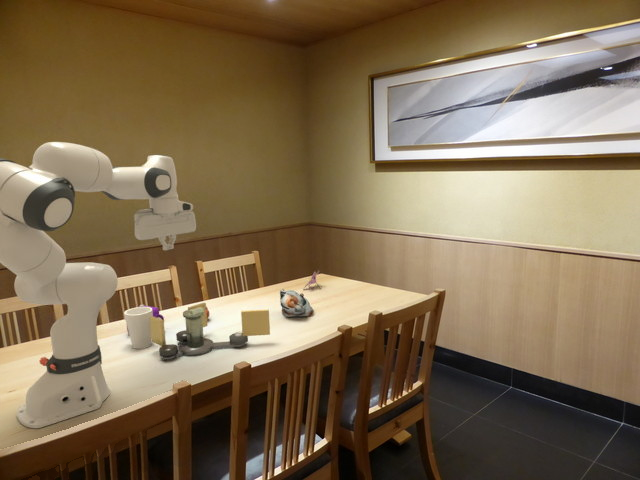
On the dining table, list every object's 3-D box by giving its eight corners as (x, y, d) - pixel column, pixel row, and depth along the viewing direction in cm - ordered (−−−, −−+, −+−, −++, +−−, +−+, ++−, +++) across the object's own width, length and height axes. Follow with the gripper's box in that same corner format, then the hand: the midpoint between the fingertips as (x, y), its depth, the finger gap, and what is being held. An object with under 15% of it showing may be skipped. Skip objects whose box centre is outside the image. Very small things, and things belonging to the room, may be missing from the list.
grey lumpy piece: (319, 314, 192) (313, 291, 184) (296, 330, 188) (289, 307, 179) (299, 297, 203) (292, 274, 194) (277, 312, 198) (269, 289, 189)
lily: (319, 286, 239) (310, 270, 238) (332, 281, 230) (323, 265, 229) (304, 298, 232) (294, 282, 231) (317, 294, 223) (307, 277, 222)
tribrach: (184, 372, 143) (180, 326, 141) (145, 353, 158) (141, 312, 156) (247, 345, 163) (245, 304, 160) (208, 330, 178) (205, 293, 175)
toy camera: (156, 338, 171) (153, 313, 170) (123, 337, 174) (120, 311, 172) (171, 328, 182) (168, 304, 180) (140, 326, 184) (137, 302, 183)
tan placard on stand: (270, 342, 160) (268, 312, 158) (228, 345, 159) (226, 315, 157) (270, 336, 166) (268, 307, 164) (230, 338, 165) (228, 309, 163)
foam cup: (126, 352, 160) (122, 316, 158) (129, 342, 169) (125, 308, 166) (154, 348, 162) (151, 313, 160) (156, 338, 171) (153, 305, 169)
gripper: (138, 210, 135) (143, 256, 138) (197, 204, 151) (200, 245, 153) (128, 209, 139) (132, 254, 142) (186, 203, 155) (189, 243, 157)
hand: (168, 249), depth 148 cm, fingers closed
